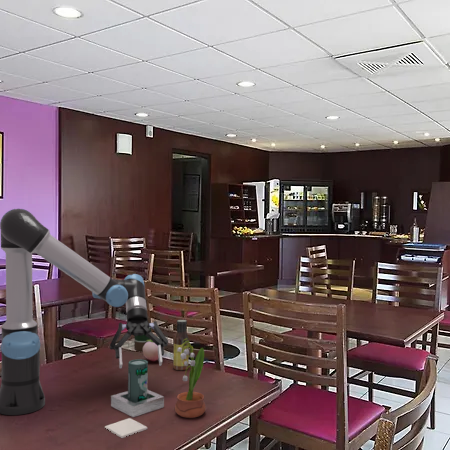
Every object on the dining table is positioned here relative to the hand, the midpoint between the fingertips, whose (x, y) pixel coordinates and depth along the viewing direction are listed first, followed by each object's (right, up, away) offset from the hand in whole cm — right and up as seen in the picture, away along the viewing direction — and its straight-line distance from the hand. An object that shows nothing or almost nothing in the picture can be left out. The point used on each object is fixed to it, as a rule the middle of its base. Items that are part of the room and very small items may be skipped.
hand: (141, 365), depth 175 cm
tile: (-1, -13, -22) cm, 26 cm away
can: (0, -13, -5) cm, 14 cm away
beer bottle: (-10, -10, +62) cm, 64 cm away
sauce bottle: (+10, -11, +36) cm, 39 cm away
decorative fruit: (-2, -11, +44) cm, 46 cm away
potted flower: (+17, -13, -11) cm, 24 cm away
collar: (0, -12, -5) cm, 13 cm away
